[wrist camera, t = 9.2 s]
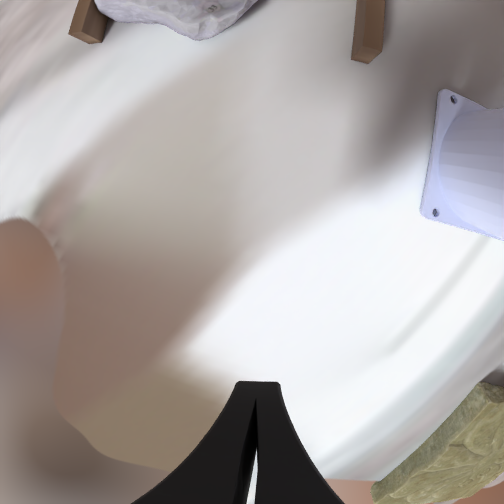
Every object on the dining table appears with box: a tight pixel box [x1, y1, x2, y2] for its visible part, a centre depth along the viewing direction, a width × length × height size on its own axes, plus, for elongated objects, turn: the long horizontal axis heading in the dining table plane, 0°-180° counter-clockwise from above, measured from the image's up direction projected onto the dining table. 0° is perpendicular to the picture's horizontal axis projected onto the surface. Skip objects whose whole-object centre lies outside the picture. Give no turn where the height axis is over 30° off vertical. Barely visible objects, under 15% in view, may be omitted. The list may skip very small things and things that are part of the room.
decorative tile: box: [370, 382, 504, 504], centre depth 22 cm, size 19×20×4 cm
